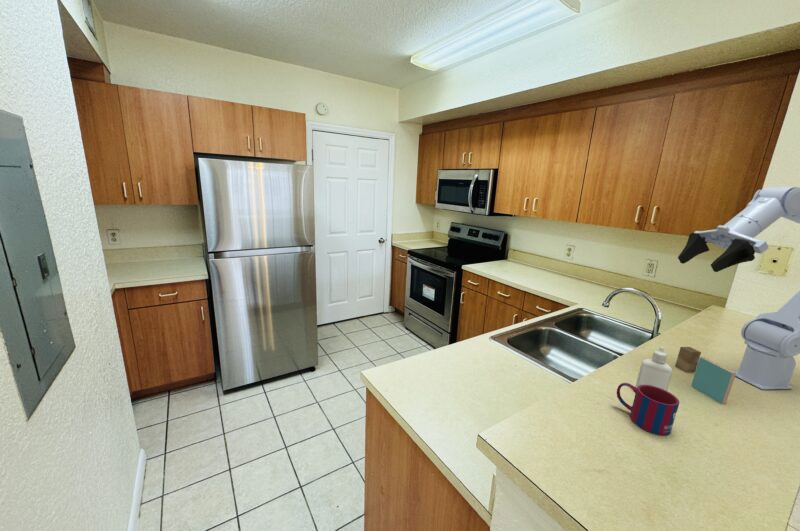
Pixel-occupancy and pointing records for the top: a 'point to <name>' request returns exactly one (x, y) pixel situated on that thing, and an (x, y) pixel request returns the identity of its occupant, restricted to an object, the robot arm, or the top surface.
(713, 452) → the top surface
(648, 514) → the top surface
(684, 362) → the block
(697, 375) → the tile
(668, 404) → the mug
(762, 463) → the top surface
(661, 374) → the eye dropper bottle
